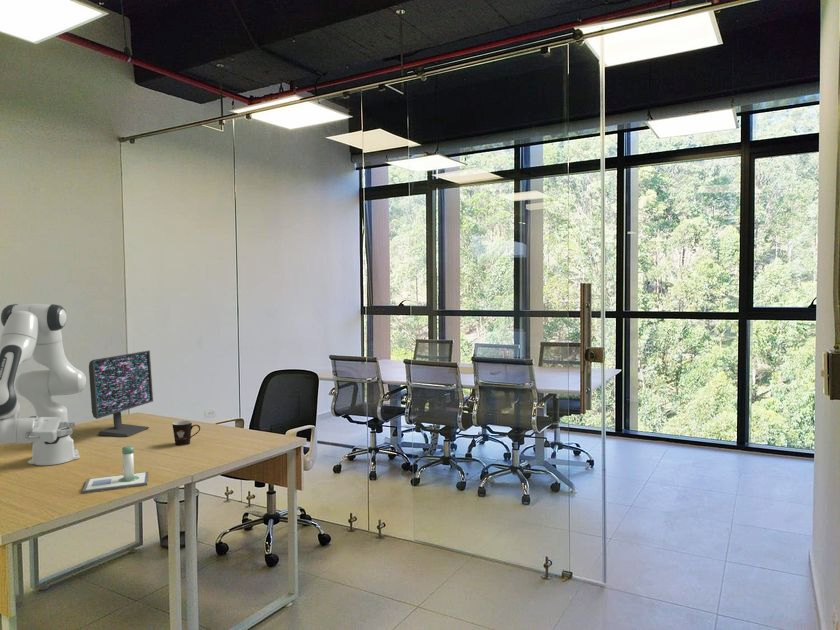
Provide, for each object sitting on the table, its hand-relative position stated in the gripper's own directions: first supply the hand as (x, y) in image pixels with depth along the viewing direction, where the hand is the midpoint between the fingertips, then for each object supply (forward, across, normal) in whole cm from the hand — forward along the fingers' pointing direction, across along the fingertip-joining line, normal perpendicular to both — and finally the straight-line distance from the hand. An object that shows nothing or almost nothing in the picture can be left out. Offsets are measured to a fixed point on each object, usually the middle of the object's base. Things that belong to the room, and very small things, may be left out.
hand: (73, 428), depth 211 cm
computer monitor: (+17, +84, +26) cm, 89 cm away
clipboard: (+15, -4, +21) cm, 26 cm away
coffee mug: (+43, +44, +22) cm, 65 cm away
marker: (+19, -4, +20) cm, 27 cm away
